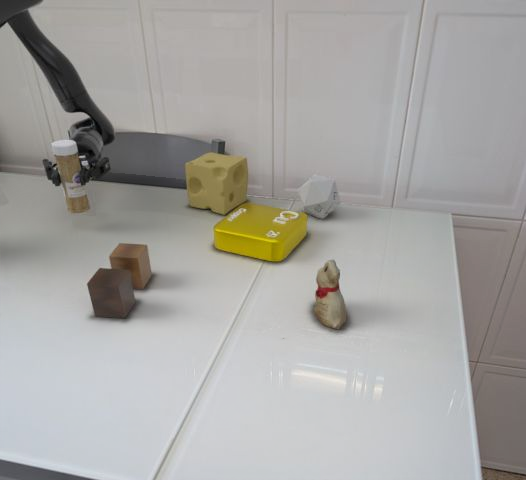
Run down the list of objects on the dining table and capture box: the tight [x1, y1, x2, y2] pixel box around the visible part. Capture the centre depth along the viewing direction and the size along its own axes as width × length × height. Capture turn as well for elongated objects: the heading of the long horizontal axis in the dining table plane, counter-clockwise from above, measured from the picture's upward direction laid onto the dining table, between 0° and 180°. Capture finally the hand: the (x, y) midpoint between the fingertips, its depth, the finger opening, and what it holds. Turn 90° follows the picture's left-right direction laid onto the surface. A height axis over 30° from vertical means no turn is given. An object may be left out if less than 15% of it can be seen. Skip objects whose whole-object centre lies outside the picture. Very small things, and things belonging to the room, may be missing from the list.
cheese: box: [184, 151, 249, 216], centre depth 112 cm, size 10×11×10 cm
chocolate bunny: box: [314, 259, 347, 330], centre depth 76 cm, size 6×8×10 cm
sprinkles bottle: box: [51, 139, 91, 214], centre depth 99 cm, size 5×5×13 cm
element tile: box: [213, 202, 308, 263], centre depth 99 cm, size 15×15×5 cm
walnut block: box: [86, 267, 136, 320], centre depth 79 cm, size 5×5×6 cm
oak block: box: [108, 242, 153, 290], centre depth 86 cm, size 5×5×6 cm
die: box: [297, 173, 342, 220], centre depth 108 cm, size 8×9×10 cm
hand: (69, 180), depth 96 cm, fingers closed on sprinkles bottle, 4 cm apart
